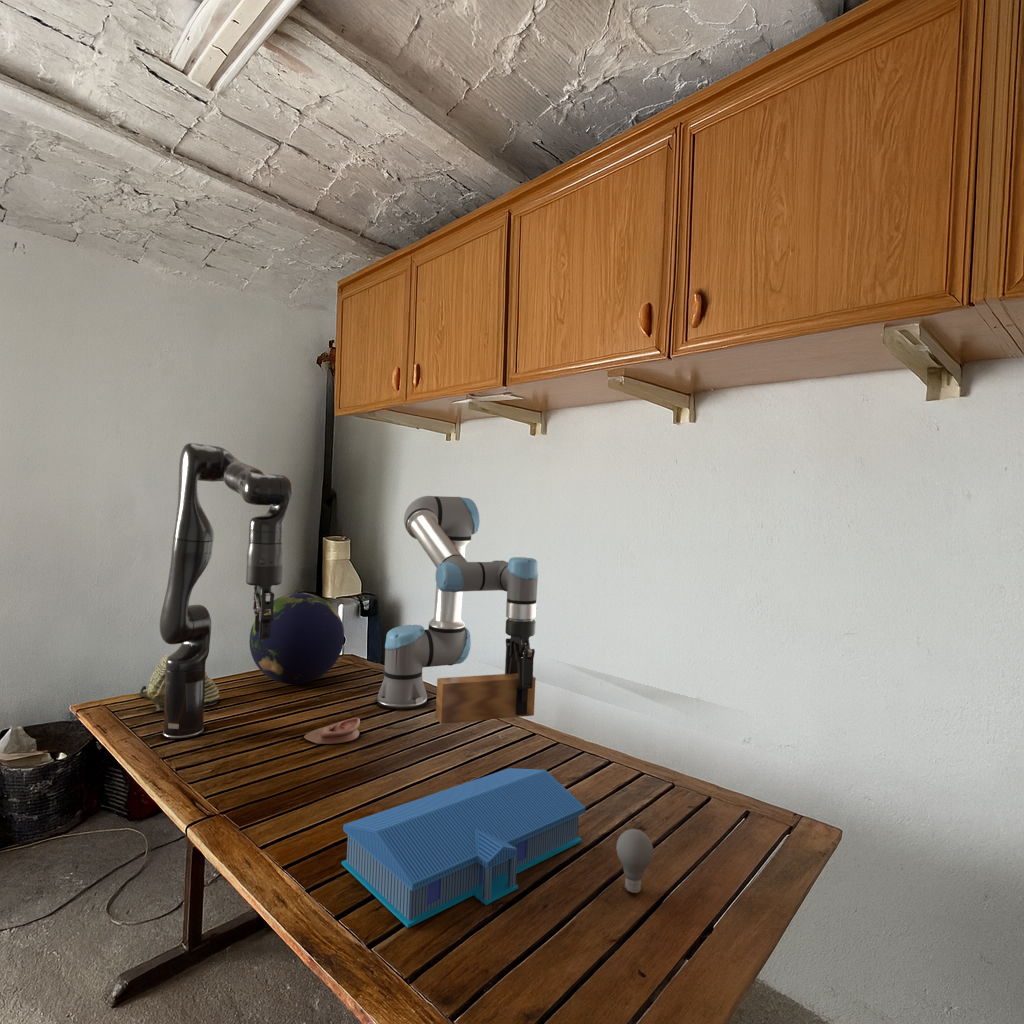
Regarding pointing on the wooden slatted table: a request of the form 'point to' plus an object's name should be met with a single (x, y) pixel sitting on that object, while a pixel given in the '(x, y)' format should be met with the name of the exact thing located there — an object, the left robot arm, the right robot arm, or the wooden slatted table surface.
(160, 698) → the fossil
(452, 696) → the bar
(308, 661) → the globe
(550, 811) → the model building
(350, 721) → the anatomical model
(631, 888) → the light bulb
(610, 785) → the wooden slatted table surface
